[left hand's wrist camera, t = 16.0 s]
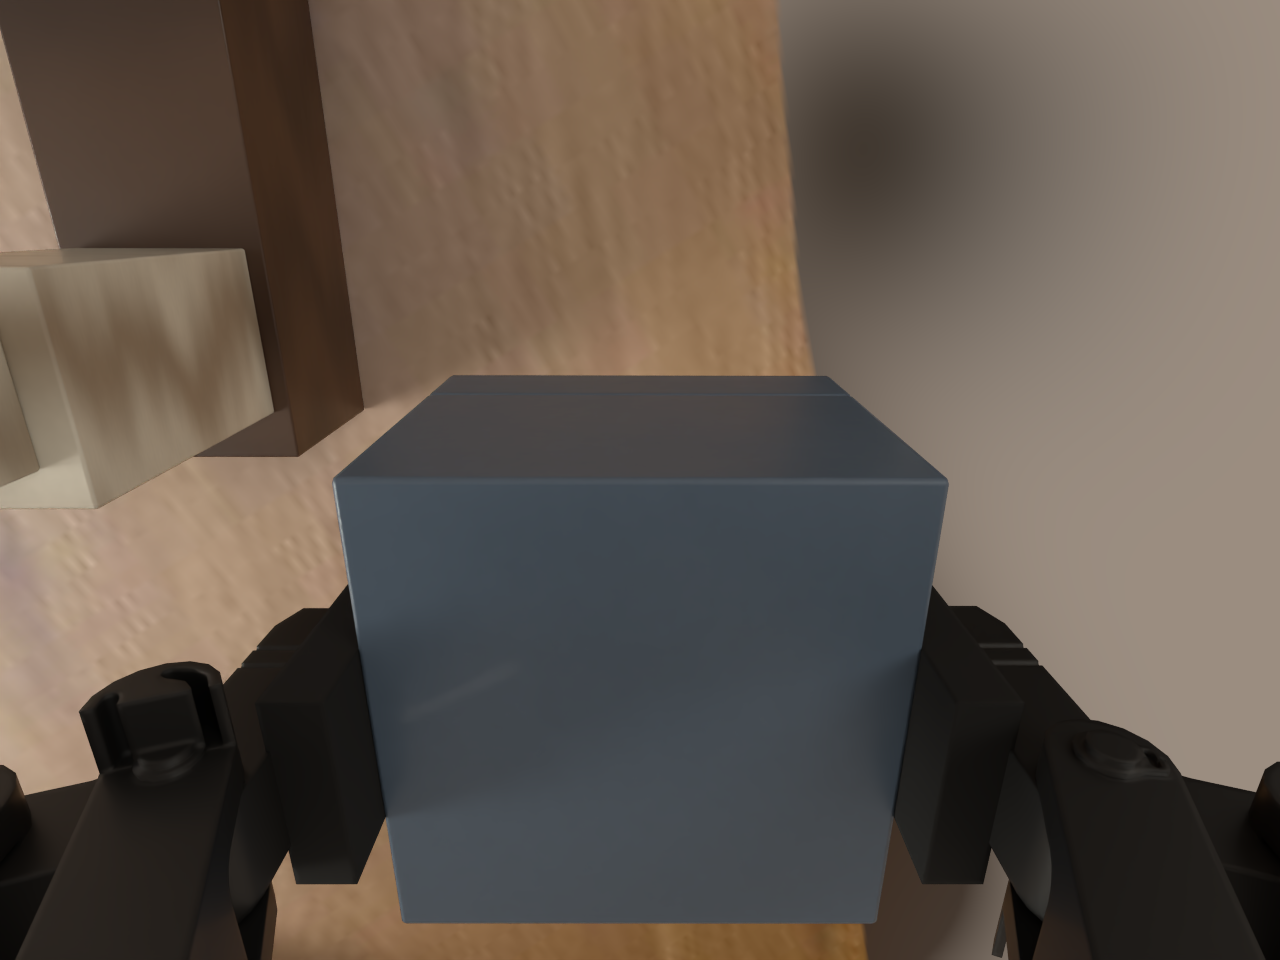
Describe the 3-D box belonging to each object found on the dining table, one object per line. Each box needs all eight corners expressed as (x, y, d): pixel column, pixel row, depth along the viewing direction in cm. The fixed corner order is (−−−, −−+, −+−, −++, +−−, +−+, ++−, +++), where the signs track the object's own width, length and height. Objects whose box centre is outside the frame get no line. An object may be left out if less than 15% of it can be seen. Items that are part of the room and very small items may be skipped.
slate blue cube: (798, 690, 16) (877, 925, 10) (479, 690, 16) (400, 925, 10) (829, 375, 13) (952, 479, 8) (450, 374, 13) (328, 478, 8)
